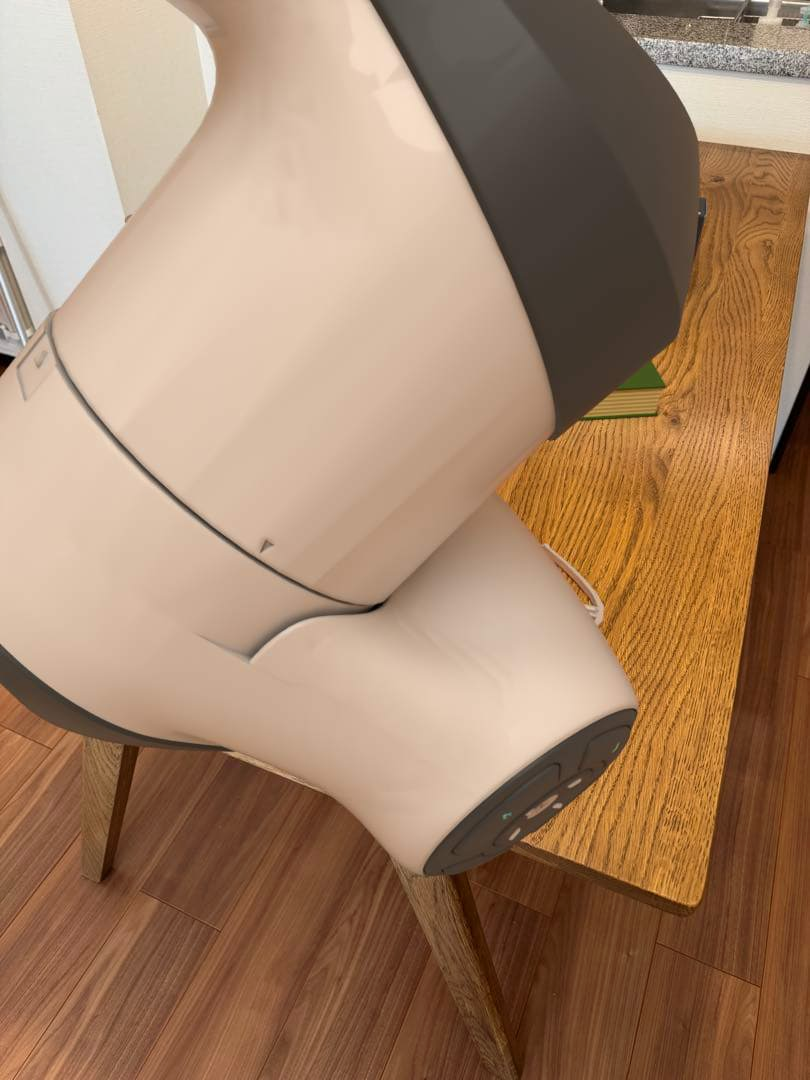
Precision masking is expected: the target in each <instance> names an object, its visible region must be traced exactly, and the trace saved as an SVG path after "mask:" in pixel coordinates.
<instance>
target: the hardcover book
mask: <svg viewBox="0 0 810 1080" xmlns="http://www.w3.org/2000/svg"><path fill="white" fill-rule="evenodd" d="M666 388H667V384H666V383H665V381H664V380H663V377H662V376H661V374H660V373H659V371H658V369H657V368H656V366H655V364H654V362H653V360H651V361H650V362H648V363H647V364H646V365H645V366H644V367H642V368H641V369H640V370H639V371H638V372H636V373H635V374H634V375H633V376H632V377H630V378H629V379H628V380H627V381H626V382H624V383H623V384H622V385H621V386H619V387H618V388H617V389H616V390H615V391H613V392H612V393H611V394H610V395H609V396H607V397H606V398H605V399H604V400H603V401H601V402H600V403H599V404H598V405H597V406H595V407H594V408H593V409H592V410H591V411H590V412H588V413H587V414H586V415H585V416H584V417H582V418H581V419H580V420H579V421H578V422H583V421H598V420H616V419H617V420H618V419H630V418H631V419H633V418H634V419H635V418H644V417H645V418H647V417H649V418H650V417H658V416H659V412H658V410H657V408H658V405H659V402H660V397H661V395H662V391H663V390H662V389H666Z"/></svg>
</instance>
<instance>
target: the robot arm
mask: <svg viewBox="0 0 810 1080" xmlns="http://www.w3.org/2000/svg"><path fill="white" fill-rule="evenodd" d="M165 1H166V2H167V3H168V4H170V5H171V6H173V7H174V8H175V9H177V11H179V12H181V14H183V15H185V16H186V17H187V18H188V19H189V20H191V22H193V23H194V24H195V25H196V26H197V27H198V28H199V30H200V32H201V33H202V34H203V36H204V37H205V39H206V40H207V43H208V45H209V47H210V50H211V52H212V56H213V62H214V66H215V76H214V78H215V79H214V80H215V81H214V82H215V84H214V87H213V92H212V95H211V100H210V104H209V105H208V108H207V110H206V112H205V114H204V116H203V118H202V120H201V122H200V125H199V126H198V127H197V129H196V130H195V132H194V134H193V135H192V136H191V138H190V139H189V140H188V142H187V143H186V145H185V146H184V147H183V149H182V150H181V151H180V153H179V154H178V155H177V156H176V158H175V159H174V160H173V162H172V163H171V164H170V165H169V167H168V168H167V169H166V171H165V172H164V173H163V174H162V176H161V177H160V178H159V180H158V181H157V182H156V183H155V185H154V186H153V187H152V188H151V189H150V191H149V193H148V194H147V195H146V196H145V198H144V199H143V200H142V202H140V204H139V205H138V207H137V208H136V209H135V211H134V212H133V213H131V214H132V216H131V217H130V218H129V220H128V221H127V222H126V223H125V222H124V225H123V226H122V227H121V229H120V230H119V231H118V232H117V234H116V235H115V236H114V238H113V239H112V240H111V241H110V243H109V244H108V245H107V247H106V248H105V249H104V250H103V252H102V253H101V254H100V256H99V257H98V259H96V260H95V262H94V264H93V265H92V266H91V267H90V269H89V270H88V271H87V273H85V275H83V278H82V279H81V280H80V281H79V283H77V285H76V287H75V288H74V289H73V290H72V292H71V293H70V294H69V295H68V297H67V298H66V299H65V301H64V302H63V304H61V306H59V308H55V309H54V310H52V311H50V312H49V313H48V314H47V316H46V317H45V318H44V320H43V321H42V322H41V324H39V326H38V328H37V329H35V331H34V333H33V334H32V335H31V336H30V338H28V340H27V342H26V343H25V344H24V346H22V348H21V349H20V351H19V352H18V354H17V355H16V356H15V358H14V359H13V360H12V361H11V362H10V364H9V366H8V367H7V368H6V369H5V371H4V372H3V373H2V374H1V376H0V685H1V686H2V687H3V688H4V689H5V690H6V691H7V692H8V693H9V694H11V695H12V696H13V697H14V698H15V699H16V700H17V701H18V702H19V703H20V704H22V706H24V707H25V708H26V709H28V710H29V711H30V712H32V713H33V715H36V716H37V717H38V718H41V719H42V720H43V721H45V722H46V723H49V724H50V725H53V726H55V727H57V728H60V729H62V730H64V731H68V732H71V733H74V734H76V735H81V736H84V737H87V738H91V739H95V740H98V741H102V742H107V743H112V744H118V745H125V746H131V747H139V748H148V749H149V748H150V749H161V750H173V751H191V752H192V751H195V752H210V753H211V752H212V753H213V752H214V753H217V752H218V753H238V754H241V755H242V756H246V757H248V758H251V759H254V760H256V761H258V762H261V763H263V764H265V765H267V766H269V767H272V768H274V769H276V770H280V771H282V772H284V773H286V774H288V775H290V776H292V777H295V778H297V779H298V780H301V781H303V782H304V783H307V784H309V785H311V786H313V787H314V788H317V789H318V790H320V791H321V792H323V793H325V794H326V795H328V796H329V797H331V798H333V800H335V801H336V802H338V803H339V804H341V805H342V806H343V807H344V808H345V809H346V810H347V811H349V813H350V814H352V815H353V817H355V818H356V819H357V820H358V822H360V823H361V824H362V826H364V827H365V829H366V830H367V831H368V832H369V834H371V836H372V837H373V838H374V839H375V841H377V842H378V844H379V845H380V846H381V847H382V848H383V850H385V851H386V852H387V854H389V857H391V858H392V860H394V861H395V862H396V863H397V864H399V865H400V866H401V867H402V868H404V870H407V871H408V872H410V873H413V874H415V875H418V876H422V877H439V876H445V875H448V876H454V875H459V874H461V873H464V872H467V871H470V870H473V869H475V868H477V867H480V866H482V865H484V864H486V863H488V862H490V861H492V860H494V859H496V858H497V857H500V856H501V855H503V854H505V853H506V852H509V851H510V850H511V849H513V848H514V845H516V844H517V843H519V842H521V841H522V840H523V839H525V838H526V837H528V836H529V835H530V834H534V833H536V832H537V831H539V830H540V829H541V828H542V827H544V826H545V825H546V824H547V823H548V822H549V821H551V820H552V819H553V818H554V817H556V816H558V814H559V813H561V812H562V811H563V810H564V809H565V808H567V806H569V805H570V804H571V803H572V802H574V801H575V800H576V799H577V798H579V797H580V795H582V794H583V793H584V792H585V791H586V790H588V789H589V788H590V787H591V786H592V785H593V784H594V783H595V782H596V781H598V780H599V779H600V778H601V777H602V776H603V775H604V774H605V772H606V771H607V770H608V768H609V767H610V766H611V764H613V763H614V761H616V759H617V758H618V757H619V756H620V755H621V753H622V752H623V751H624V749H625V747H626V746H627V744H628V742H629V740H630V738H631V733H632V729H633V727H634V725H635V723H636V720H637V717H638V714H639V707H640V706H639V705H640V704H639V700H638V697H637V695H636V692H635V690H634V688H633V685H632V683H631V681H630V679H629V677H628V676H627V673H626V672H625V670H624V667H623V666H622V664H621V662H620V661H619V659H618V657H617V656H616V654H615V652H614V650H613V649H612V647H611V645H610V642H608V640H607V639H606V637H605V635H604V634H603V632H602V631H601V629H600V627H599V628H598V626H597V625H596V623H595V621H594V620H593V618H592V617H591V615H590V614H589V612H588V611H587V609H586V607H585V606H584V604H585V603H584V602H583V601H582V599H581V598H580V597H579V595H578V594H577V592H576V591H575V590H574V587H572V585H571V584H570V582H569V581H568V580H567V578H566V576H565V575H564V573H563V572H562V571H561V569H560V568H559V565H558V564H557V563H556V562H554V561H553V560H552V558H551V557H550V556H549V554H548V553H547V552H546V550H545V549H544V548H543V546H542V545H543V544H541V542H540V541H539V540H538V539H537V538H536V536H535V535H534V534H533V532H532V531H531V530H530V529H529V528H528V526H527V525H526V523H524V521H523V520H522V519H521V518H520V517H519V515H518V514H517V513H516V512H515V511H514V509H512V507H511V506H510V504H509V503H508V502H507V501H505V499H504V498H503V497H502V496H501V495H500V494H499V493H498V492H497V490H498V489H499V488H500V487H501V486H502V485H503V484H504V483H506V481H507V480H509V478H510V477H511V476H512V475H513V474H514V473H515V472H516V471H517V470H518V469H519V468H520V467H522V465H524V463H525V462H526V461H527V460H528V459H529V458H530V457H532V455H533V454H534V453H536V451H537V450H539V449H540V447H541V446H542V445H544V443H545V442H546V441H547V440H548V441H550V442H551V441H556V440H558V439H559V438H561V436H562V435H564V434H565V433H566V432H567V431H569V430H570V429H571V428H572V427H573V426H574V425H575V424H577V423H578V422H580V421H579V420H580V419H581V418H582V417H584V416H585V415H586V414H587V413H588V412H590V411H591V410H592V409H593V408H594V407H595V406H597V405H598V404H599V403H600V402H601V401H603V400H604V399H605V398H606V397H607V396H609V395H610V394H611V393H612V392H613V391H615V390H616V389H617V388H618V387H619V386H621V385H622V384H623V383H624V382H626V381H627V380H628V379H629V378H630V377H632V376H633V375H634V374H635V373H636V372H638V371H639V370H640V369H641V368H642V367H644V366H645V365H646V364H647V363H648V362H650V361H653V360H654V359H655V358H656V357H657V356H658V355H659V354H661V353H662V352H663V351H664V350H665V349H667V348H668V347H669V346H670V345H672V344H673V343H674V342H675V340H676V338H677V337H678V334H679V332H680V328H681V323H682V319H683V315H684V309H685V304H686V301H687V296H688V291H689V287H690V283H691V277H692V272H693V268H692V265H693V259H694V251H695V244H696V236H697V225H698V214H699V197H700V194H701V192H700V191H701V186H700V185H701V183H700V182H701V167H700V166H701V164H700V145H699V144H700V143H699V139H698V135H697V132H696V131H697V130H696V128H695V126H694V124H693V121H692V118H691V116H690V115H689V111H687V109H686V106H685V105H684V103H683V101H682V100H681V98H680V97H679V94H678V93H677V91H676V90H675V88H674V87H673V85H672V84H671V83H670V80H668V78H667V77H666V76H665V74H664V73H663V71H662V69H660V67H659V66H658V65H657V63H656V62H655V61H654V60H653V58H652V57H651V56H650V55H649V53H648V52H647V51H646V50H645V49H644V48H643V47H642V46H641V44H640V43H639V42H638V41H637V40H636V39H635V38H634V37H633V35H632V34H631V33H630V32H629V30H627V29H626V28H625V27H624V26H623V25H622V24H621V23H620V21H618V19H617V18H615V16H614V15H613V14H612V13H611V12H610V11H609V10H608V9H607V8H606V7H605V6H603V5H602V3H600V2H599V0H165ZM693 266H694V265H693ZM691 271H692V272H691Z"/></svg>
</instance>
